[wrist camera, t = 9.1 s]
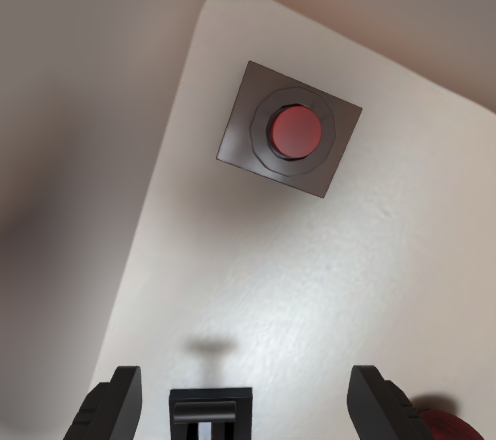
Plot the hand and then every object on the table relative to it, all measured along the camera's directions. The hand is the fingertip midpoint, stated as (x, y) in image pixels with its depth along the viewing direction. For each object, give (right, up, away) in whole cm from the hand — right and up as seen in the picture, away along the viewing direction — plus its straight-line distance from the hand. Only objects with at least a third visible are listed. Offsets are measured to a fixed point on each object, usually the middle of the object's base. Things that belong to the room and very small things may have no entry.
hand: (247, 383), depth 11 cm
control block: (+3, +14, +15) cm, 21 cm away
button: (+4, +13, +12) cm, 18 cm away
